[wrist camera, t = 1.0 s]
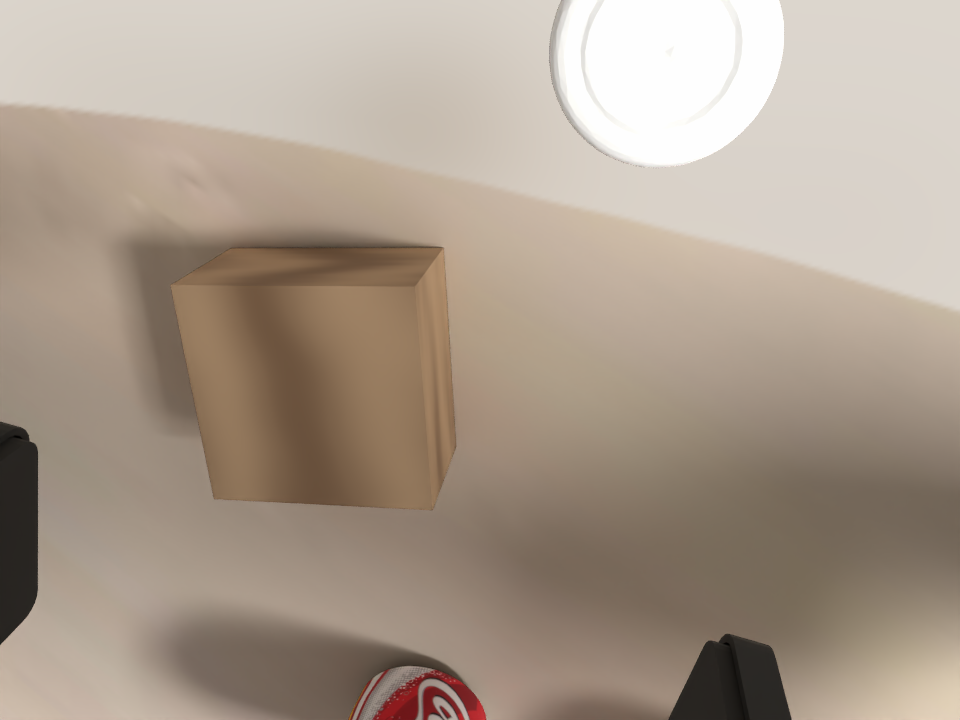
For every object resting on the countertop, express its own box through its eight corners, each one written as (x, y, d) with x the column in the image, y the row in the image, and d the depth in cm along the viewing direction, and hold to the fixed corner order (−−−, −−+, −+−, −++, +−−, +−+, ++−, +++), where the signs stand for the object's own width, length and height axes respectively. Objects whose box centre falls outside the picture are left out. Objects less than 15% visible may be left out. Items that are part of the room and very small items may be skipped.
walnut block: (443, 247, 32) (415, 286, 27) (455, 446, 35) (432, 510, 31) (231, 248, 33) (170, 285, 29) (263, 438, 37) (214, 498, 32)
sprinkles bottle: (730, 66, 28) (823, 108, 15) (608, 127, 29) (603, 209, 17) (680, -66, 26) (736, -134, 14) (554, 5, 28) (506, -3, 15)
